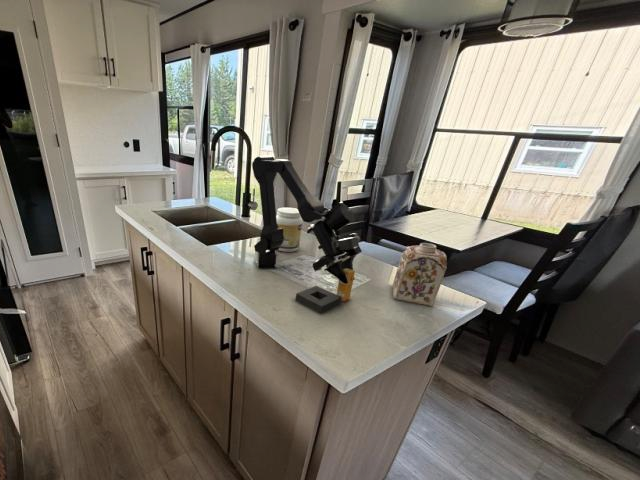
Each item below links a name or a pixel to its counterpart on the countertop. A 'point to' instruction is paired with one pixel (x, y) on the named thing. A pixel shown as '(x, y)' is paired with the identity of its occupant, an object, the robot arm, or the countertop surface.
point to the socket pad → (318, 299)
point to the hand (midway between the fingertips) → (349, 281)
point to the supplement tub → (289, 228)
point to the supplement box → (346, 285)
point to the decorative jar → (419, 274)
